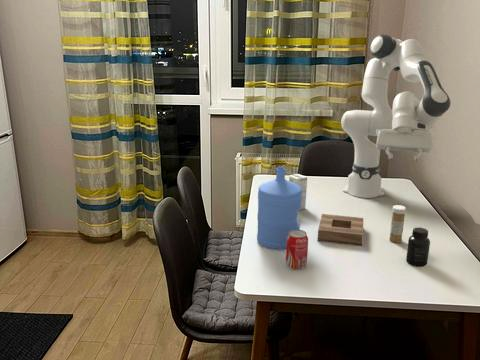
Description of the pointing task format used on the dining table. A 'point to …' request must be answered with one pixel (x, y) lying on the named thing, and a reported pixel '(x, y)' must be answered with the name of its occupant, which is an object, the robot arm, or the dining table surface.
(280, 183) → the water jug
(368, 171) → the robot arm
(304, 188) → the syrup box
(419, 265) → the supplement bottle
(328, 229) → the socket block
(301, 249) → the soda can
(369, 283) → the dining table surface
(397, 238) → the sprinkles bottle
